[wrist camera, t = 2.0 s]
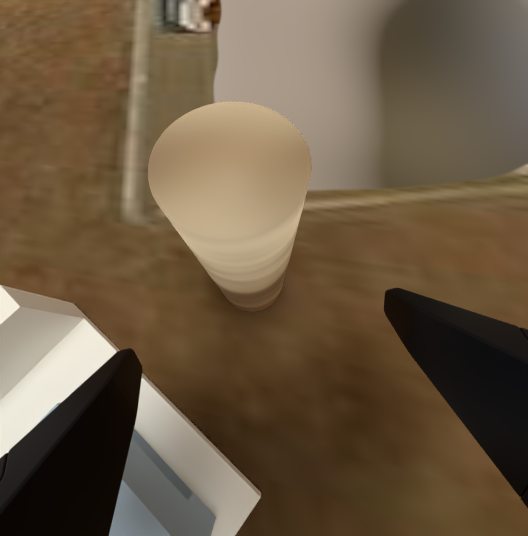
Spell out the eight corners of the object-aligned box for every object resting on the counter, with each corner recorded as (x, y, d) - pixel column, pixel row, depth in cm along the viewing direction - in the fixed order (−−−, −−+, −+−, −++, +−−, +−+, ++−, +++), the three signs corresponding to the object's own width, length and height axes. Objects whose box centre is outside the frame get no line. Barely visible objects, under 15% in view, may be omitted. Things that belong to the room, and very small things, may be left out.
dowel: (288, 305, 21) (330, 220, 7) (226, 317, 20) (152, 251, 7) (276, 248, 22) (291, 91, 9) (218, 258, 22) (144, 113, 9)
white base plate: (261, 492, 17) (258, 564, 11) (60, 788, 13) (-99, 1126, 7) (73, 303, 21) (0, 284, 15) (-123, 489, 17) (-318, 559, 11)
